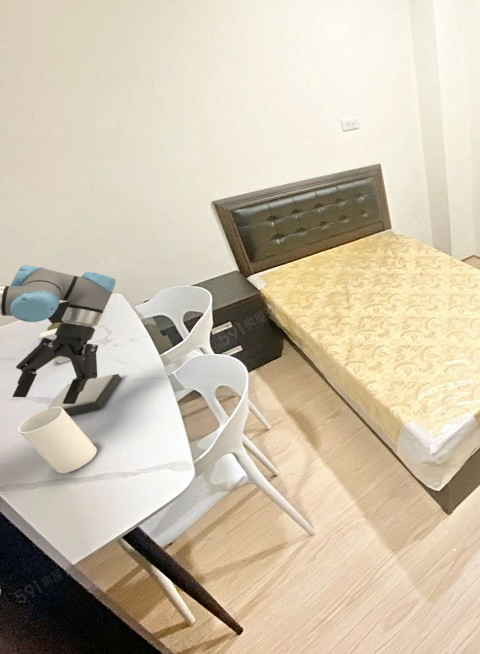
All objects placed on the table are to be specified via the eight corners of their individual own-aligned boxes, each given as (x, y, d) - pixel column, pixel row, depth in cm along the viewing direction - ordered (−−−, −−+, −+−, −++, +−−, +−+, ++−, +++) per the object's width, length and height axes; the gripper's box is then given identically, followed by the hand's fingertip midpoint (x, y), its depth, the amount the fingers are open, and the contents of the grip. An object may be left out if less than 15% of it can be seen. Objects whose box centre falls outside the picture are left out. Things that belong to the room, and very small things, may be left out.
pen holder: (95, 320, 167) (81, 300, 162) (75, 333, 159) (61, 313, 154) (72, 321, 167) (58, 301, 162) (51, 335, 159) (36, 314, 154)
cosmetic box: (82, 351, 149) (63, 325, 143) (80, 357, 146) (61, 331, 140) (60, 358, 146) (40, 332, 140) (58, 364, 143) (37, 338, 137)
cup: (55, 479, 103) (15, 438, 95) (57, 459, 108) (19, 419, 100) (97, 459, 107) (62, 419, 99) (97, 441, 113) (64, 401, 105)
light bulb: (62, 351, 149) (46, 330, 144) (57, 346, 152) (41, 326, 147) (81, 342, 154) (66, 321, 149) (75, 338, 156) (60, 318, 151)
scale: (44, 422, 120) (38, 414, 118) (71, 390, 131) (65, 383, 130) (101, 409, 123) (95, 401, 122) (122, 378, 135) (117, 371, 133)
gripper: (132, 332, 119) (101, 406, 112) (49, 321, 118) (13, 394, 112) (110, 328, 112) (75, 406, 105) (21, 316, 111) (-18, 394, 105)
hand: (43, 400), depth 109 cm, fingers open, 13 cm apart
